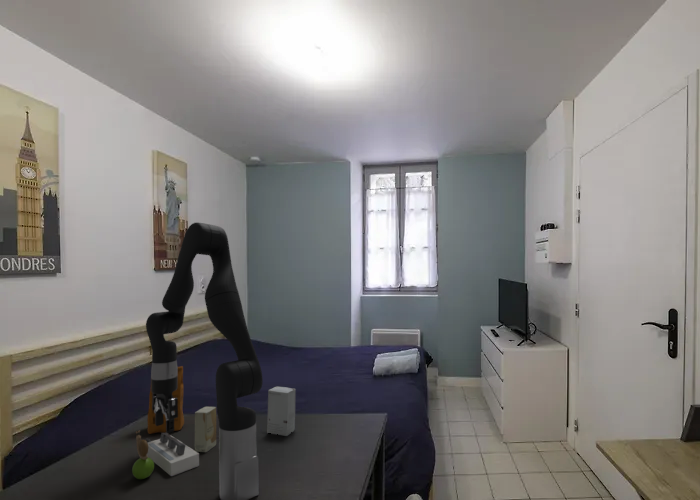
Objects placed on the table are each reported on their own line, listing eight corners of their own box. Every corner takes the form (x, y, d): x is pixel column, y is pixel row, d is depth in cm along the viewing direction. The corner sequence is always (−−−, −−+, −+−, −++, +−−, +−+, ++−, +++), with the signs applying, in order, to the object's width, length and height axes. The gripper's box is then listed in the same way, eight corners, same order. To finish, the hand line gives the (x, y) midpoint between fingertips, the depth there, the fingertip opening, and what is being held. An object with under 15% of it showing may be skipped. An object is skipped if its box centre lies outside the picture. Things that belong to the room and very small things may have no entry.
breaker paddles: (183, 453, 118) (185, 444, 118) (178, 454, 117) (180, 445, 117) (164, 440, 128) (166, 432, 128) (159, 441, 126) (161, 432, 127)
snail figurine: (147, 470, 116) (147, 427, 117) (157, 476, 112) (157, 432, 113) (127, 477, 112) (127, 433, 112) (137, 485, 108) (137, 439, 108)
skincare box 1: (206, 453, 126) (206, 413, 127) (194, 452, 127) (193, 412, 128) (217, 444, 133) (217, 406, 133) (205, 443, 133) (205, 405, 134)
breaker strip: (199, 465, 118) (198, 453, 118) (171, 476, 112) (171, 462, 112) (158, 437, 139) (158, 426, 139) (133, 445, 133) (133, 433, 134)
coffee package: (151, 425, 151) (151, 365, 152) (187, 422, 153) (186, 363, 154) (143, 435, 141) (143, 372, 142) (181, 432, 143) (180, 369, 145)
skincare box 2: (266, 433, 140) (266, 390, 141) (275, 427, 146) (275, 385, 146) (288, 436, 137) (287, 392, 138) (296, 429, 143) (295, 387, 144)
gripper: (186, 377, 124) (186, 430, 124) (167, 369, 134) (167, 419, 133) (161, 382, 119) (161, 438, 118) (143, 374, 129) (143, 426, 128)
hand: (164, 428), depth 126 cm, fingers open, 8 cm apart
